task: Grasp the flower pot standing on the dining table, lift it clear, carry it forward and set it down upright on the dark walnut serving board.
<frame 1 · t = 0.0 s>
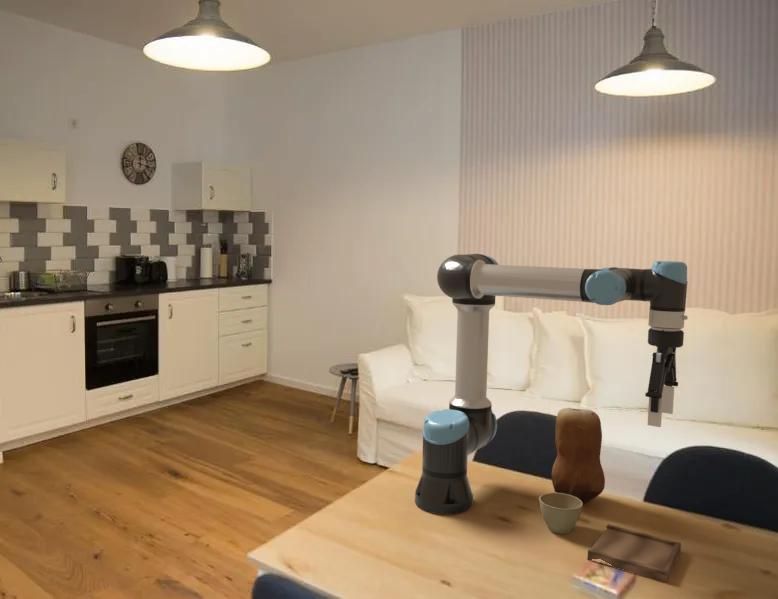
hand: (660, 419, 150), 28 cm above the table, fingers open, 13 cm apart
walnut board: (634, 555, 142), on the table
butternut squash: (576, 501, 172), on the table
flower pot: (559, 530, 155), on the table
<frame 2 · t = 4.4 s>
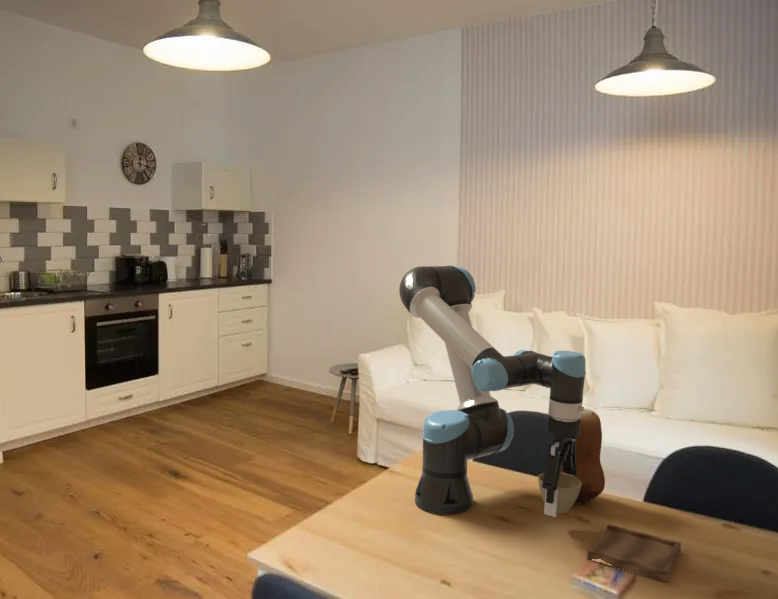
hand: (557, 507, 155), 5 cm above the table, fingers closed on flower pot, 10 cm apart
flower pot: (557, 509, 155), point 5 cm above the table, touching gripper
everything else where it was.
when the fingers open (2 cm above the table, at t = 9.1 s): flower pot stays where it is, resting on walnut board.
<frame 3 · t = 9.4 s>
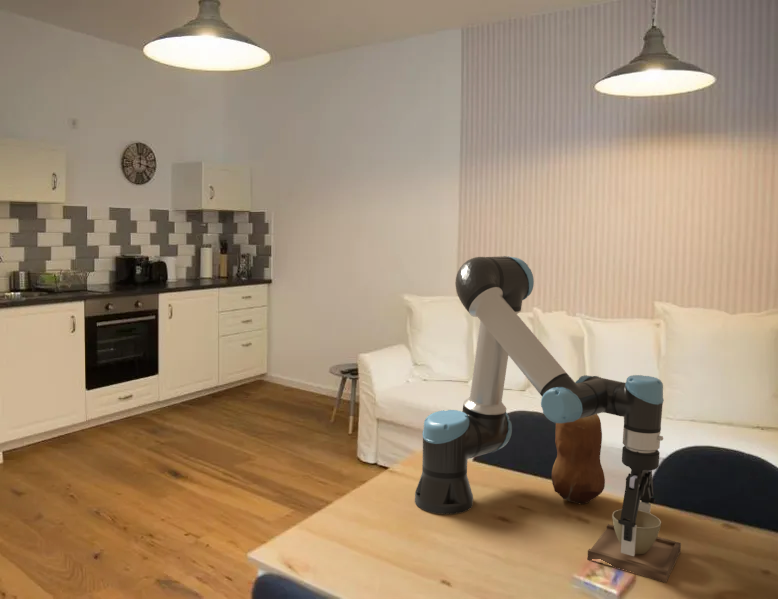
hand: (635, 541, 142), 3 cm above the table, fingers open, 13 cm apart
flower pot: (634, 549, 142), point 1 cm above the table, touching walnut board
everything else where it was.
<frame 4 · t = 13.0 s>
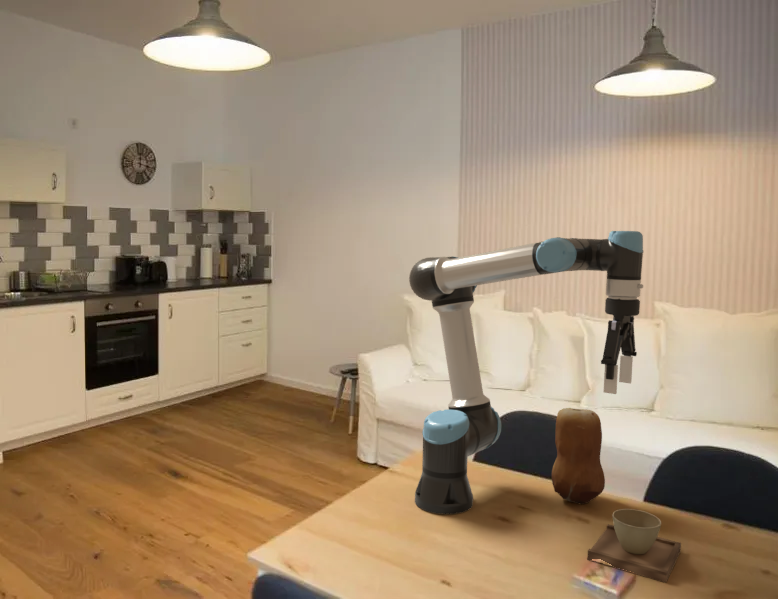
hand: (617, 387, 152), 35 cm above the table, fingers open, 13 cm apart
nothing on the table moved.
at the end: flower pot inside the target area on the walnut board (0.1 cm from its centre), point 1.3 cm above the walnut board's base; flower pot tilted 0°; the gripper is holding nothing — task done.
